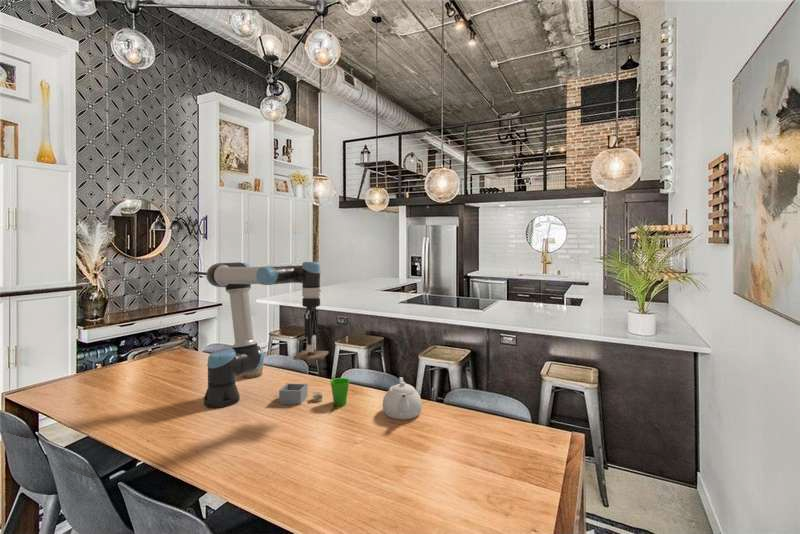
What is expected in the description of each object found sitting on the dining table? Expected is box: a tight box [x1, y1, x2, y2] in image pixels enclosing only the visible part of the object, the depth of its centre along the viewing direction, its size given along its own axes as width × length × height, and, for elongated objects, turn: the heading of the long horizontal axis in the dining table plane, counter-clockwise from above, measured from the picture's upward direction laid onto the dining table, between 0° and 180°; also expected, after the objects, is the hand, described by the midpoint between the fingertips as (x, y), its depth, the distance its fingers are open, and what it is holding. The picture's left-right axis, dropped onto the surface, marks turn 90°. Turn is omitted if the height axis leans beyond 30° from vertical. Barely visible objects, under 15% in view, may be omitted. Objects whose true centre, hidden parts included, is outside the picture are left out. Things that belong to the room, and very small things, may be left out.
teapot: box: [382, 376, 423, 421], centre depth 173 cm, size 19×18×14 cm
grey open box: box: [278, 382, 309, 405], centre depth 184 cm, size 10×10×7 cm
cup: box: [329, 377, 351, 408], centre depth 181 cm, size 9×9×11 cm
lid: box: [292, 335, 329, 361], centre depth 173 cm, size 12×12×9 cm
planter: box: [241, 359, 265, 379], centre depth 224 cm, size 13×13×10 cm
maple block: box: [312, 391, 323, 403], centre depth 184 cm, size 4×4×4 cm
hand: (311, 350), depth 173 cm, fingers closed on lid, 3 cm apart
